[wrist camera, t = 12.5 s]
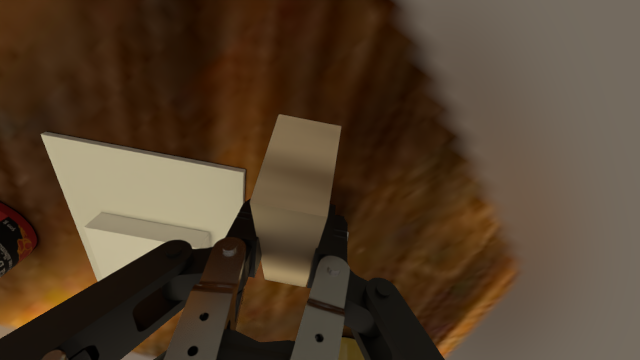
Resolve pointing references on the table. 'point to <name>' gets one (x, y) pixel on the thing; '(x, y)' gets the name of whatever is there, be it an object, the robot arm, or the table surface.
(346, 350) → the plant pot
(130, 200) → the mat
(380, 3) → the table surface
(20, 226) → the canned food
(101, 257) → the tile
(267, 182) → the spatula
